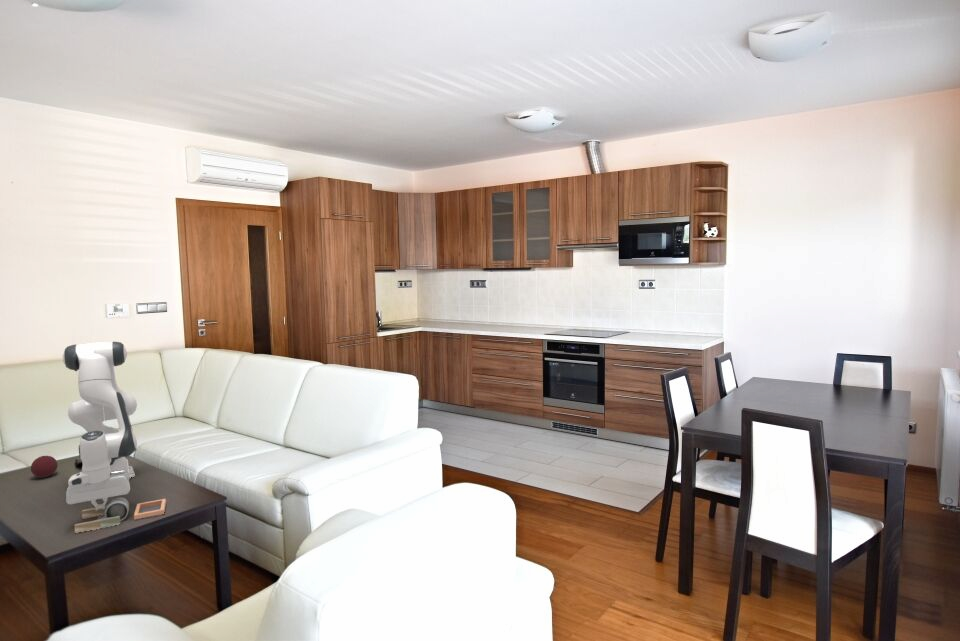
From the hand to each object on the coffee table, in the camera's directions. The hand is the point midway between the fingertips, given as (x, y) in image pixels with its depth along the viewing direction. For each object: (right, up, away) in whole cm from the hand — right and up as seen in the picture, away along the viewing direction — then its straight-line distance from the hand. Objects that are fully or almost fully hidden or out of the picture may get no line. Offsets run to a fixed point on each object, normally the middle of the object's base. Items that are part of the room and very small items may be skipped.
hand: (100, 509), depth 217 cm
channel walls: (0, -5, 0) cm, 5 cm away
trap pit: (+15, -3, +7) cm, 17 cm away
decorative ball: (-59, -1, +50) cm, 77 cm away
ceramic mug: (+4, -5, +2) cm, 6 cm away
